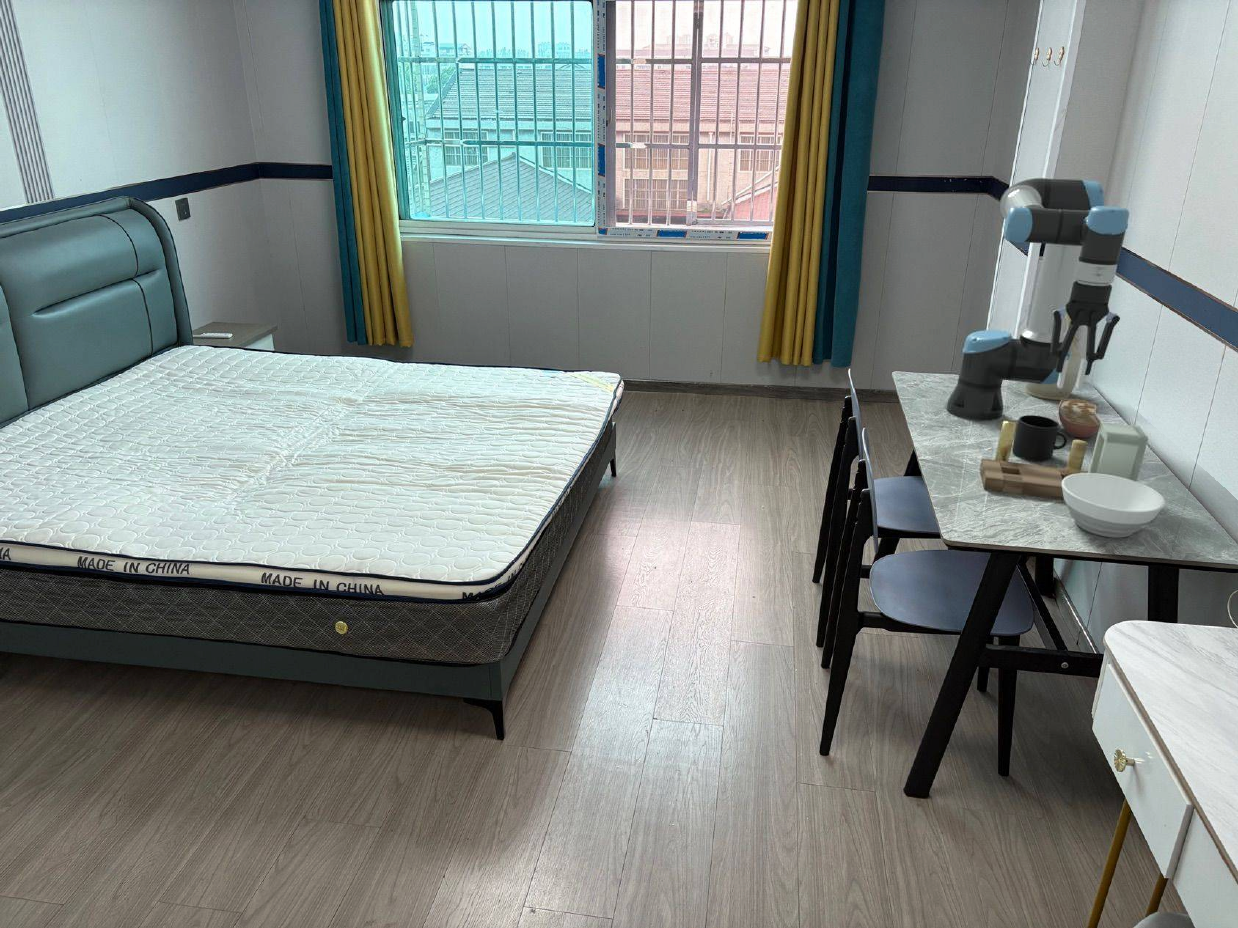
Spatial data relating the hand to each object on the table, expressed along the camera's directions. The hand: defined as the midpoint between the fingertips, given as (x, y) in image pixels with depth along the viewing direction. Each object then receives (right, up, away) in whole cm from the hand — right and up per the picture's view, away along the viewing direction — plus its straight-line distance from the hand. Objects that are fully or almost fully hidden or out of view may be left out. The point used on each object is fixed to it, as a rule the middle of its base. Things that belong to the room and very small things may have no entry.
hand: (1068, 387), depth 200 cm
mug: (+6, -15, +28) cm, 32 cm away
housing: (+12, -21, +5) cm, 25 cm away
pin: (-7, -18, +20) cm, 28 cm away
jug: (+31, +4, +75) cm, 82 cm away
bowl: (+3, -31, -9) cm, 32 cm away
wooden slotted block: (0, -23, +9) cm, 25 cm away
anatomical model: (+26, -7, +48) cm, 55 cm away
